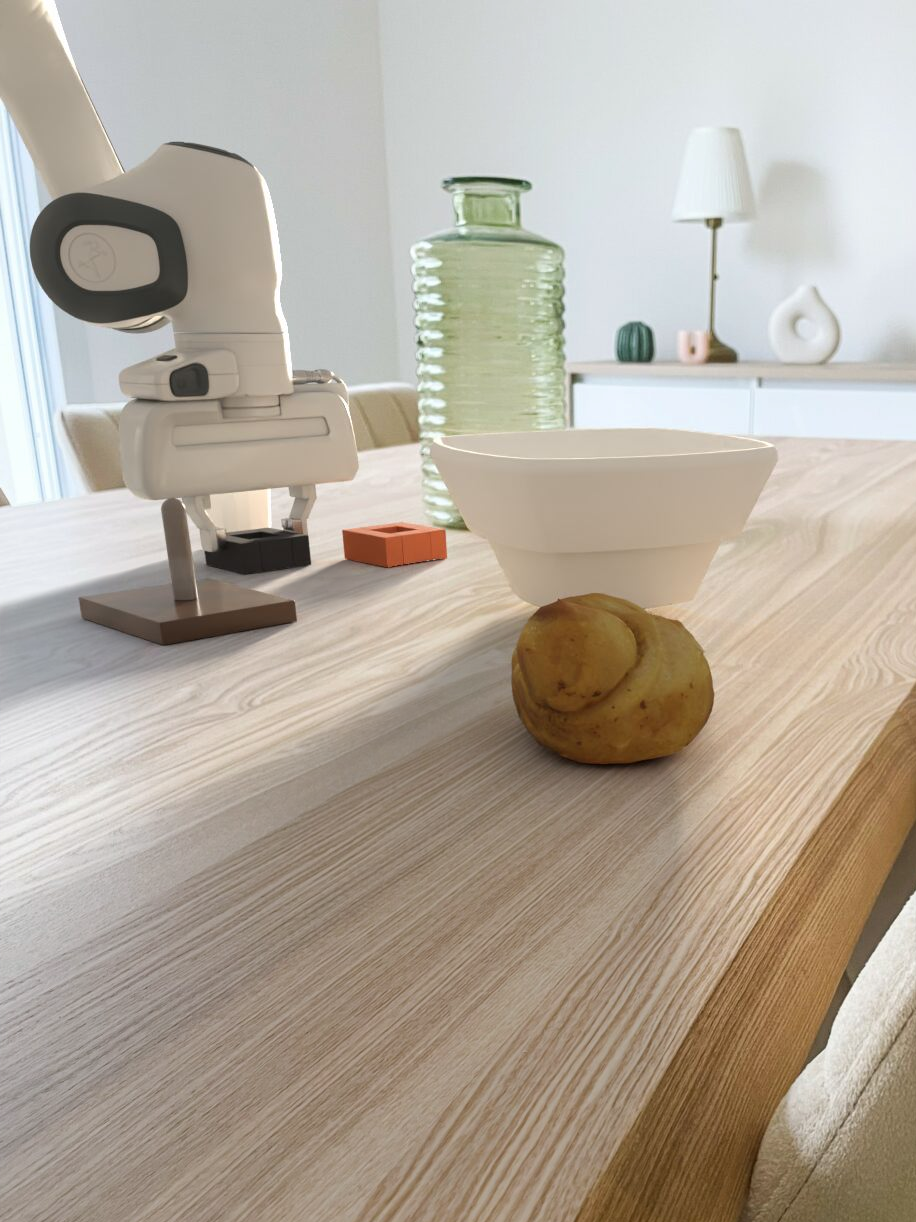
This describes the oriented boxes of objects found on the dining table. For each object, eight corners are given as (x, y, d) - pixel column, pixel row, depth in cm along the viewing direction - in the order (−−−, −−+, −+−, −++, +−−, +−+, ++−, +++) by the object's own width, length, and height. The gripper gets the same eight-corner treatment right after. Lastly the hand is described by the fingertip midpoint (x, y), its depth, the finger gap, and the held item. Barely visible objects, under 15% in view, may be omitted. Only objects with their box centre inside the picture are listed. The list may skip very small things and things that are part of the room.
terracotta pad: (344, 558, 114) (341, 529, 113) (403, 550, 118) (401, 522, 117) (387, 567, 110) (385, 537, 109) (447, 558, 114) (445, 529, 113)
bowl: (409, 594, 99) (397, 435, 95) (664, 570, 109) (664, 424, 104) (517, 656, 81) (509, 464, 77) (812, 620, 91) (820, 447, 86)
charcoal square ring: (205, 565, 111) (201, 535, 110) (271, 555, 116) (268, 527, 115) (244, 574, 107) (241, 543, 106) (311, 564, 111) (308, 535, 111)
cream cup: (219, 554, 116) (208, 473, 113) (189, 545, 121) (179, 467, 118) (290, 546, 120) (282, 468, 117) (259, 537, 125) (250, 462, 122)
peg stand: (81, 618, 92) (60, 497, 89) (210, 597, 98) (195, 484, 95) (163, 645, 84) (143, 514, 81) (297, 621, 91) (284, 499, 88)
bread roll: (497, 708, 71) (490, 559, 67) (671, 697, 73) (672, 552, 69) (529, 785, 59) (522, 609, 56) (734, 770, 61) (739, 599, 58)
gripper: (324, 367, 114) (338, 527, 120) (97, 374, 101) (125, 555, 106) (365, 369, 110) (379, 535, 116) (135, 376, 97) (163, 564, 102)
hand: (256, 545), depth 111 cm, fingers closed on charcoal square ring, 6 cm apart
